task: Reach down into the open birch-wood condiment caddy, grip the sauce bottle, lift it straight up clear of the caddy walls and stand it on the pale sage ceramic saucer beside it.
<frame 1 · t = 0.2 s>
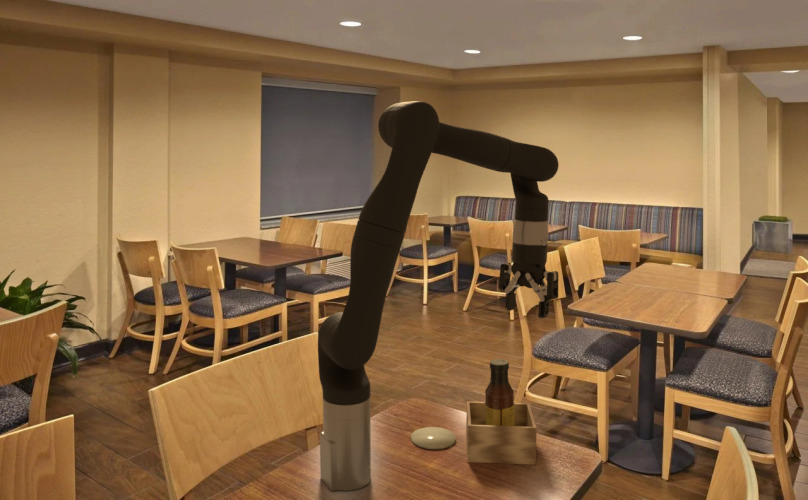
hand: (526, 313, 143), 29 cm above the table, fingers open, 8 cm apart
saucer: (433, 439, 146), on the table
caddy: (499, 448, 141), on the table
sauce bottle: (499, 449, 141), resting in caddy
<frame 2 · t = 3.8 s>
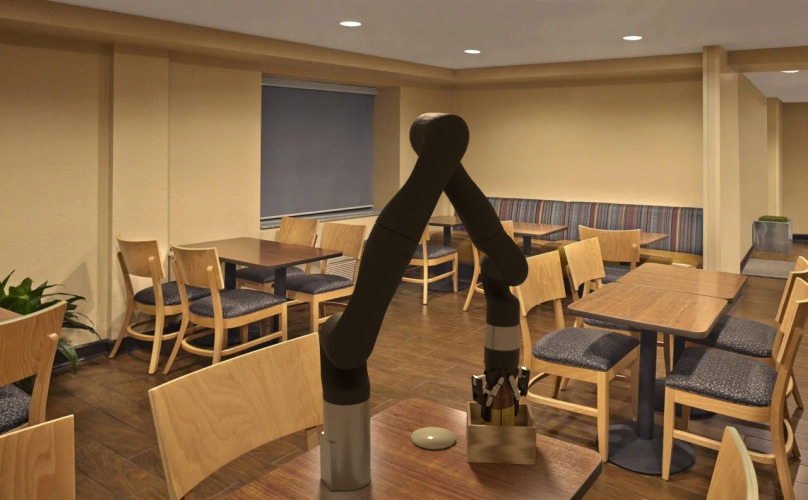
hand: (499, 417, 140), 7 cm above the table, fingers closed on sauce bottle, 6 cm apart
sauce bottle: (499, 449, 141), resting in caddy, touching gripper
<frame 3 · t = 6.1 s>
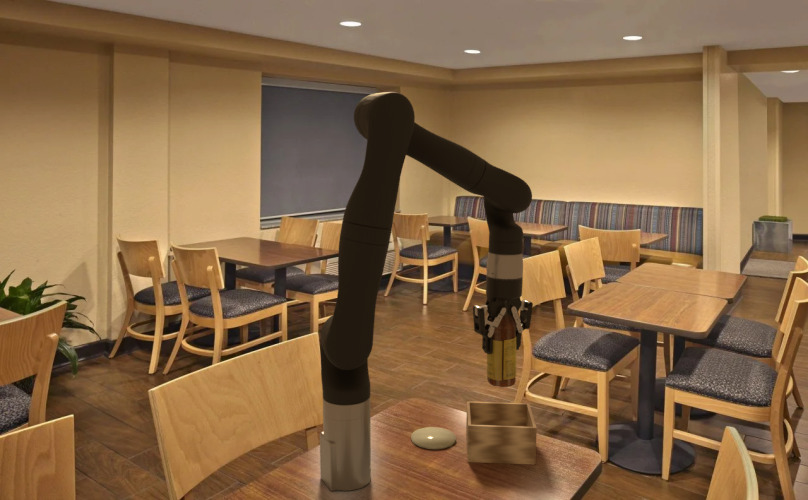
hand: (501, 350, 138), 22 cm above the table, fingers closed on sauce bottle, 6 cm apart
sauce bottle: (500, 384, 139), point 15 cm above the table, touching gripper
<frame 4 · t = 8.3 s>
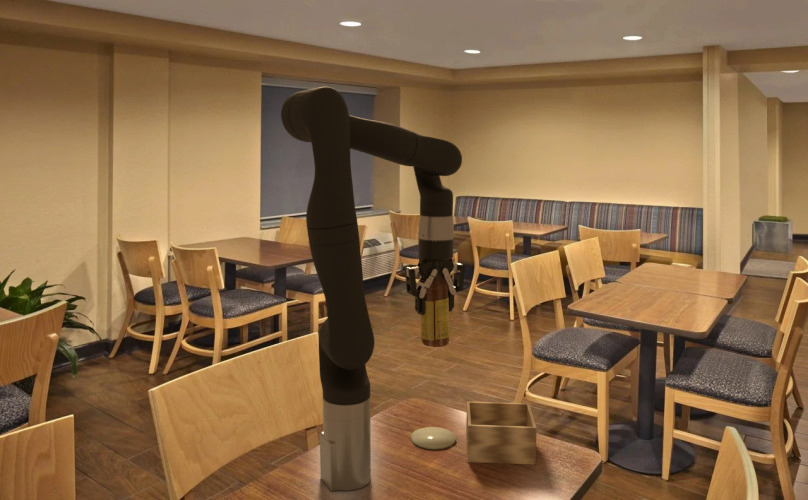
hand: (434, 312, 141), 29 cm above the table, fingers closed on sauce bottle, 6 cm apart
sauce bottle: (434, 344, 142), point 22 cm above the table, touching gripper
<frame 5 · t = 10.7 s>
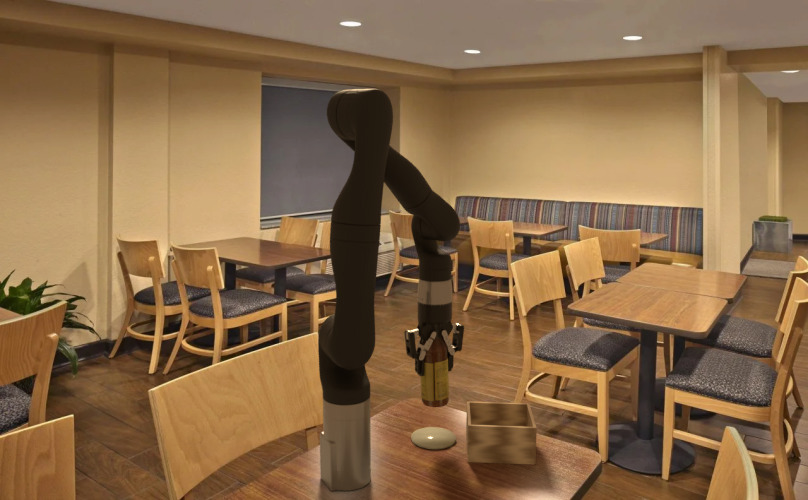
hand: (434, 372, 143), 16 cm above the table, fingers closed on sauce bottle, 6 cm apart
sauce bottle: (434, 404, 144), point 8 cm above the table, touching gripper
when the fingers open (9 cm above the table, at t = 13.1 s): sauce bottle drops 1 cm, resting on saucer.
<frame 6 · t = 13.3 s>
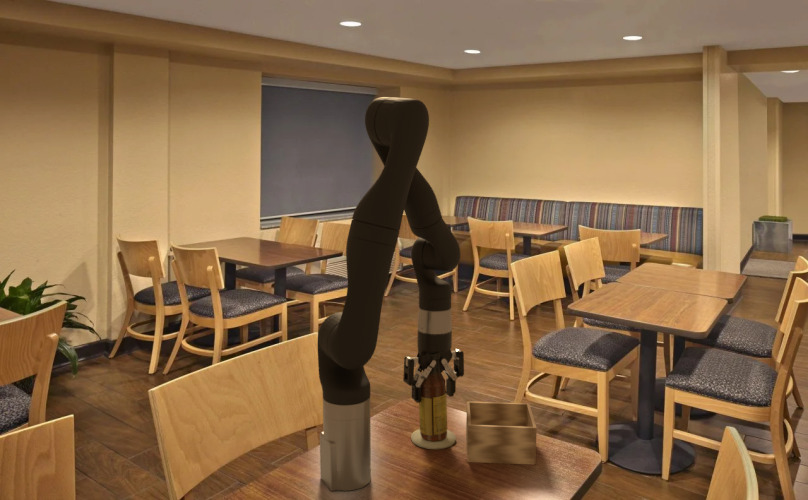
hand: (433, 398, 144), 10 cm above the table, fingers open, 8 cm apart
sauce bottle: (432, 437, 146), resting on saucer
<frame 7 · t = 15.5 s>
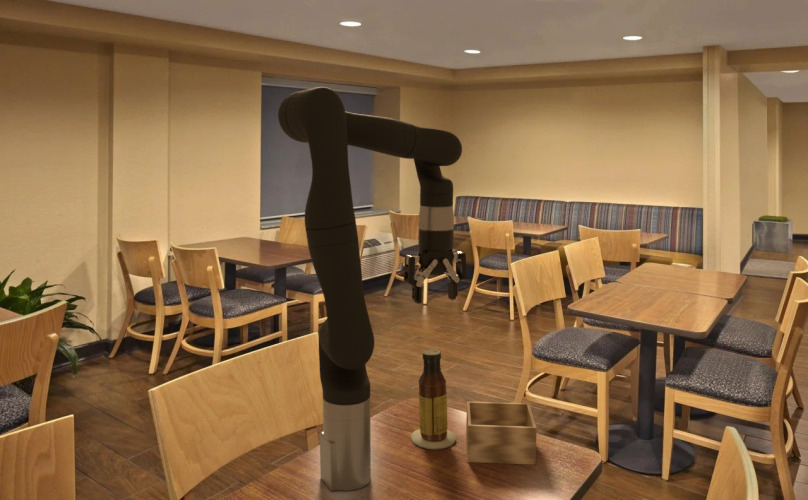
hand: (435, 300, 141), 32 cm above the table, fingers open, 8 cm apart
nothing on the table moved.
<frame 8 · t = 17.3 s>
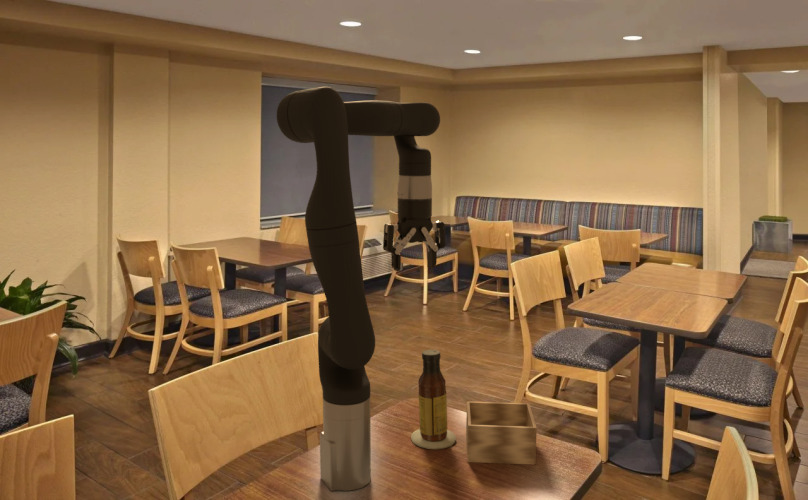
hand: (414, 269, 144), 38 cm above the table, fingers open, 8 cm apart
nothing on the table moved.
at the end: sauce bottle 0.2 cm off-centre on the saucer, point 0.4 cm above the saucer's base; sauce bottle tilted 0°; the gripper is holding nothing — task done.
